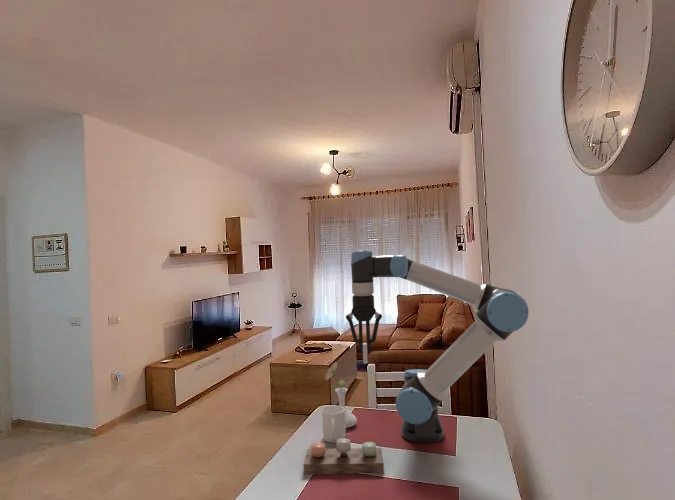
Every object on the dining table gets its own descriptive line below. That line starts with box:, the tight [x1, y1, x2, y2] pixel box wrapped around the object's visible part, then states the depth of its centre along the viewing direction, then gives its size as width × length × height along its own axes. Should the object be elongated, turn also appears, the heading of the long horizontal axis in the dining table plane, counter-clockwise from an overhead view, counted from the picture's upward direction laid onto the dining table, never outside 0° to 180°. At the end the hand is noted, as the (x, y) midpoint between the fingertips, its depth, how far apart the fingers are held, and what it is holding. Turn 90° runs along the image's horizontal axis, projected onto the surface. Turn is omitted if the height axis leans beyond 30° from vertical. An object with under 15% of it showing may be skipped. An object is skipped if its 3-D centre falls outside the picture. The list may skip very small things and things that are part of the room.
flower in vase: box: [324, 361, 358, 429], centre depth 159 cm, size 13×11×25 cm
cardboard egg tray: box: [303, 447, 385, 475], centre depth 127 cm, size 24×10×3 cm, turn 88°
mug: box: [321, 405, 347, 444], centre depth 145 cm, size 12×8×10 cm
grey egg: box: [335, 437, 352, 456], centre depth 127 cm, size 4×4×4 cm
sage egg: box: [361, 441, 377, 457], centre depth 127 cm, size 4×4×4 cm
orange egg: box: [310, 442, 326, 458], centre depth 128 cm, size 4×4×4 cm
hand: (365, 362), depth 142 cm, fingers closed
